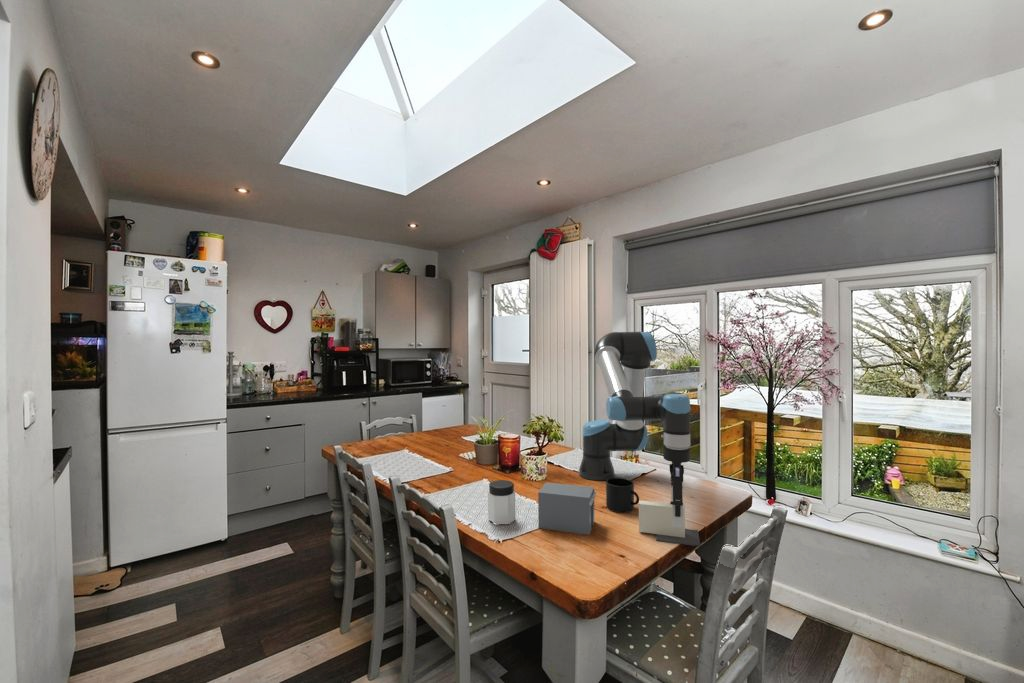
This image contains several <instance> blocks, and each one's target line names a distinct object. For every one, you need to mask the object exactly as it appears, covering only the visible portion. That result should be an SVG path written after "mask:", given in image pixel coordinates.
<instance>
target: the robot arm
mask: <svg viewBox="0 0 1024 683" xmlns="http://www.w3.org/2000/svg"><path fill="white" fill-rule="evenodd" d="M657 355H658V349H657V343H656V340H655V337H654V335H653V334H652V333H651V332H649V331H612V332H609V333H607V334H604V335H603V336H602V337H601V338H600V339H599V340H598V341H597V342H596V345H595V347H594V351H593V356H594V360H595V362H596V364H597V365H598V366H599V367H600V370H601V374H602V377H603V379H604V383H605V387H606V389H607V393H608V396H609V397H607V399H606V403H605V405H606V406H605V408H606V410H605V411H606V416H607V418H608V419H609V420H611V421H615V422H614V423H611V422H610V421H609V420H607V419H597V420H590V421H587V422H586V423H584V424H583V426H582V459H581V462H580V466H579V468H578V475H579V476H580V477H581V478H583V479H585V480H586V479H587V480H591V481H607V480H608V479H611V478H613V477H614V478H615V469H614V465H613V462H612V460H611V452H640V451H642V450H644V449H645V447H646V445H647V442H648V428H647V425H646V424H645V423H644V421H662V425H663V428H662V431H663V434H661V435H660V436H661V438H662V439H663V447H662V452H663V453H662V454H663V455H662V456H663V459H664V460H665V461H668V462H671V463H669V474H670V481H671V483H670V485H671V488H670V491H671V492H670V494H671V496H670V498H671V499H670V502H669V504H671V505H672V525H673V527H679V528H683V505H684V502H683V500H684V498H683V482H684V473H685V467H684V464H685V463H688V462H690V461H691V449H690V447H691V410H692V409H691V400H690V397H689V396H688V395H686V394H681V393H667V394H665V395H664V394H663V395H662V394H658V395H655V396H644V389H645V388H644V387H645V382H646V381H645V379H646V372H647V371H646V370H648V369H649V368H650V367H651V362H656V360H657ZM683 463H684V464H683Z"/></svg>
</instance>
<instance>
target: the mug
mask: <svg viewBox="0 0 1024 683" xmlns="http://www.w3.org/2000/svg"><path fill="white" fill-rule="evenodd" d="M605 488H606V489H605V490H606V492H605V493H606V494H605V501H606V502H605V504H606V505H605V506H606V508H607V509H608V510H610V511H611V512H615V513H631V512H632V511H634V510H635V505H636V506H637V505H639V500H640V496H639V494H638V493H637V492H636V491H635V484H634V481H632V480H631V479H628V478H625V477H614V478H611V479H608V480H605ZM635 498H636V499H635Z"/></svg>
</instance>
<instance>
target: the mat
mask: <svg viewBox="0 0 1024 683" xmlns="http://www.w3.org/2000/svg"><path fill="white" fill-rule="evenodd" d="M655 540H656V542H660V543H661V542H662V543H663V542H664V543H670V544H676V543H679V545H684V546H690V547H691V546H692V547H700V548H701V545H702V544H701V541H700V535H699V531H698V529H690V528H685V538H683V537H675V536H668V535H660V534H655Z"/></svg>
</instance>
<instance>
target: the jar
mask: <svg viewBox="0 0 1024 683" xmlns="http://www.w3.org/2000/svg"><path fill="white" fill-rule="evenodd" d="M488 488H489V490H488V491H487V512H488V513H487V520H488V519H490V520H491V521H492V522H493V523H496V524H509V525H511V524H512V523H513V522H515V521H516V491H515V483H514V482H513V481H511V480H508V479H507V480H506V479H497V480H494V481H490V483H489V487H488ZM514 520H515V521H514ZM512 521H513V522H512ZM511 522H512V523H511ZM493 523H492V524H493ZM510 523H511V524H510Z"/></svg>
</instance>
